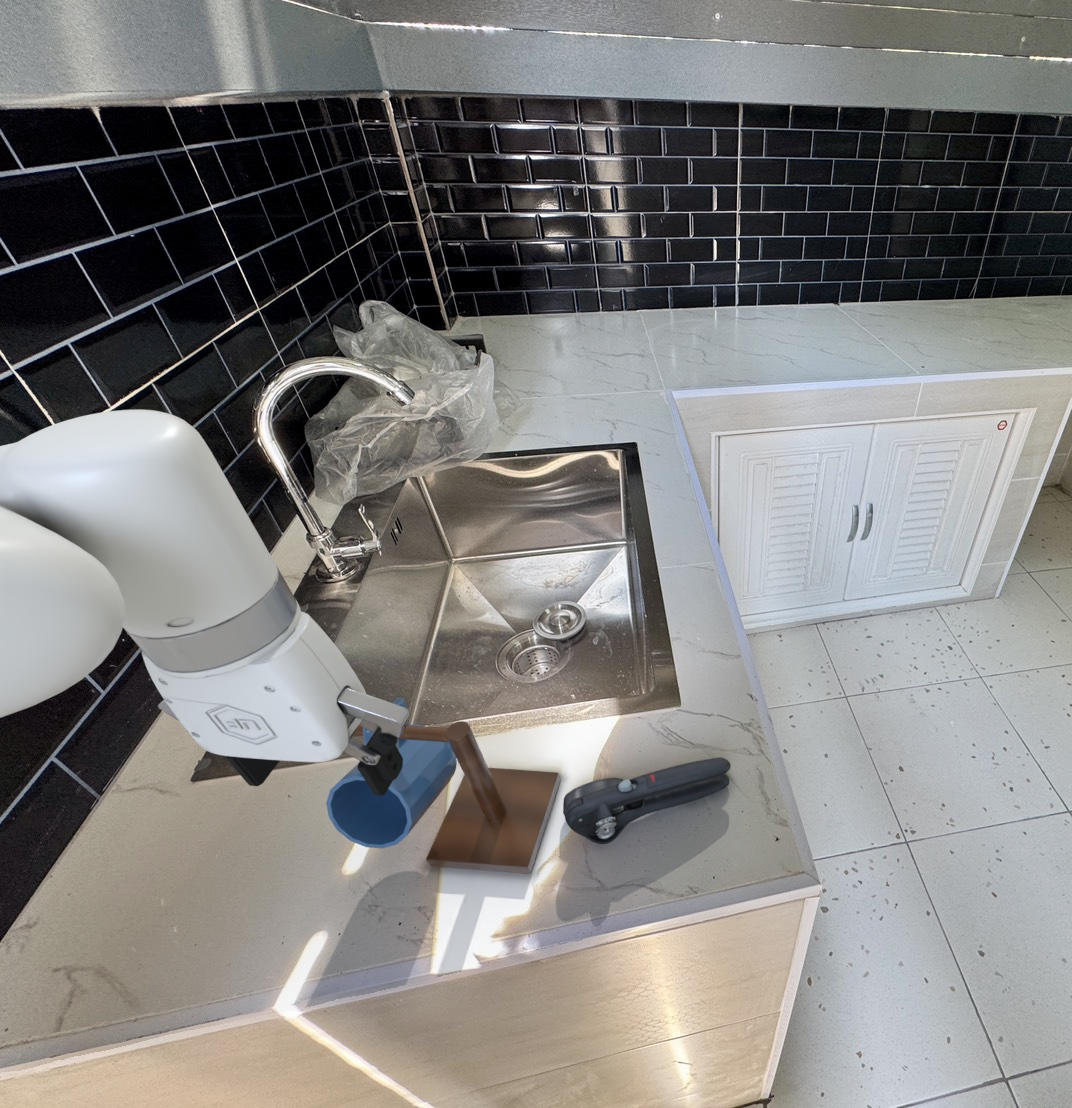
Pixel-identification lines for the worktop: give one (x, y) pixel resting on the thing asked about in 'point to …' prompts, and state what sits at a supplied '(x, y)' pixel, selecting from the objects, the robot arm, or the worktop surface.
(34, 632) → the robot arm
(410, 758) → the mug
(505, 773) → the mug stand
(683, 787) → the can opener
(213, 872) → the worktop surface
